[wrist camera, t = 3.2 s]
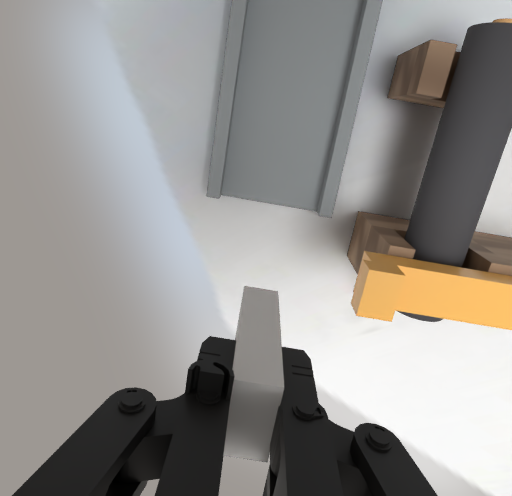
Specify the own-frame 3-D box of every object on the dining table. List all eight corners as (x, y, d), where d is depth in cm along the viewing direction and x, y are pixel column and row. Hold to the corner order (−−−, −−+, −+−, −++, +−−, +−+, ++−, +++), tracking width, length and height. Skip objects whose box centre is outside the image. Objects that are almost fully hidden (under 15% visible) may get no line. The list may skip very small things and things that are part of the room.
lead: (458, 24, 25) (492, 7, 21) (520, 35, 25) (566, 21, 21) (378, 297, 31) (393, 322, 27) (428, 305, 31) (451, 332, 27)
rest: (398, 55, 29) (430, 39, 23) (503, 74, 30) (562, 63, 24) (387, 98, 30) (416, 93, 24) (489, 116, 30) (542, 116, 24)
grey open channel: (250, -116, 26) (249, -135, 24) (397, -89, 27) (407, -105, 25) (210, 191, 33) (206, 196, 31) (327, 211, 33) (331, 217, 31)
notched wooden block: (358, 211, 33) (390, 245, 24) (543, 243, 33) (641, 288, 25) (347, 255, 34) (373, 303, 26) (525, 286, 35) (612, 343, 26)
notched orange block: (356, 249, 24) (369, 269, 21) (521, 277, 25) (559, 302, 21) (345, 290, 25) (356, 315, 22) (505, 317, 25) (539, 346, 22)
